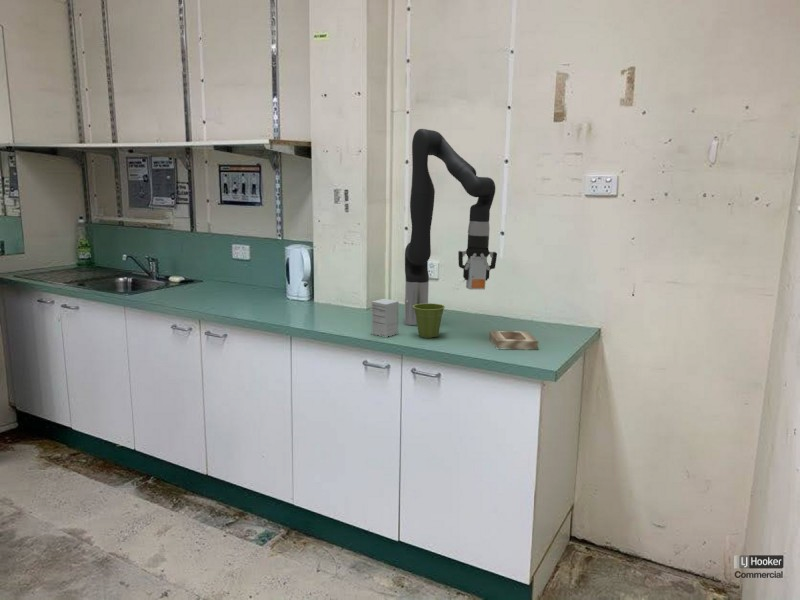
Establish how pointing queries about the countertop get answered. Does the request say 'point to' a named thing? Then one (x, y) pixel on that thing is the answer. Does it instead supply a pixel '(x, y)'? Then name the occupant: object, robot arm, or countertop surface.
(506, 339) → the birch plinth
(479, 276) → the skincare box
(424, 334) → the plant pot
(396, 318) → the supplement box
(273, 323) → the countertop surface
